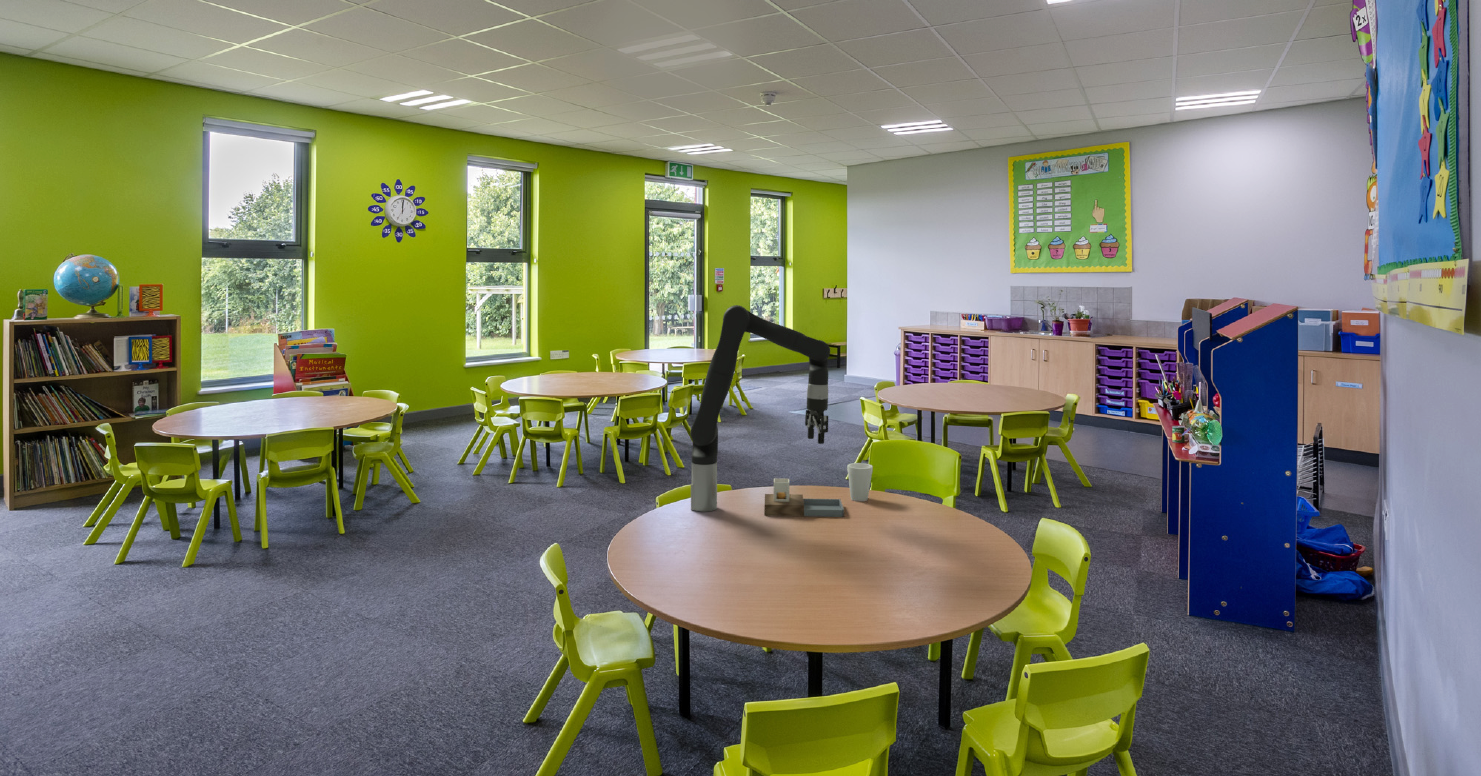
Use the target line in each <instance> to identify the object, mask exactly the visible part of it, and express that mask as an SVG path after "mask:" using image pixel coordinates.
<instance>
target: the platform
mask: <svg viewBox="0 0 1481 776" xmlns="http://www.w3.org/2000/svg"><path fill="white" fill-rule="evenodd" d="M776 499H779V498H776ZM784 499H786V498H784ZM803 499H804V495H803V494H797V493H795V494H792V493H791V494H790V493H789V502H779V501H774V493H764V515H763V516H769V517H771V516H772V517H775V516H777V517H778V516H779V517H805V516H804V500H803Z"/></svg>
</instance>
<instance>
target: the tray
mask: <svg viewBox="0 0 1481 776" xmlns="http://www.w3.org/2000/svg"><path fill="white" fill-rule="evenodd" d="M803 500H804V516H803V517H820V518H821V517H824V518H825V517H827V518H828V517H830V518H833V517H835V518H839V517H840V518H843V517H845V508H844V505H843V502H842V500H841V498H803Z"/></svg>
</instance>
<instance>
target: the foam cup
mask: <svg viewBox="0 0 1481 776" xmlns="http://www.w3.org/2000/svg"><path fill="white" fill-rule="evenodd" d="M846 467H847V471H846V472H847V475H848V485H849V494H850V495H849V496H850V499H851V501H855V502H867V501H868V499H869V493H870V487H871V482H872V481H871V480H872V474H873V467H874V466H873V465H872V464H869V463H864V462H853V463H848V464H847V466H846Z"/></svg>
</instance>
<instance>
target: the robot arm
mask: <svg viewBox="0 0 1481 776" xmlns="http://www.w3.org/2000/svg"><path fill="white" fill-rule="evenodd" d="M721 325H722V326H721V330H720V331H721V332H720V336H719V341H718V343H717V346H716V348H715V351H714V352H713V355H712V357H711V360H710V363H709V366H708V369H707V373H706V375H705V379H704V384H703V389H702V393H701V400H700V405H699V408H698V411H697V414H696V416H695V418H694V420H693V424H692V425H691V428H690V438H691V440H692V450H691V451H692V452H691V484H690V510H691V511H697V512H703V513H704V512H712V511H715V510H717V509H718V454H719V453H718V451H719V446H718V445H719V427H718V421H719V415H720V412H721V409H722V407H723V406H724V402H725V400H726V398H727V396H728V393H729V392H730V389H731V386H732V382H733V379H734V376H735V371H736V367H737V361H738V356H739V355H738V353H739V349H740V345H741V342H742V340H743V337H744V335H745V333H750V334H752V335H755V336H758V337H760V338H763V339H765V340H767V341H769V342H770V343H773V344H775V345H777V346H780V347H781V348H785V349H786V350H789V351H792V352H795V353H798V354H799V353H800V354H801V355H803V356H804V357H807V358H808V365H809V367H808V369H809V370H808V377H807V378H808V382H807V384H808V385H807V388H806V389H807V391H806V410H805V415H804V416H805V418H804V419H805V420H804V426H806V428H807V439H809V440H813V439H815V428H816V429H817V444H820V445H823V444H824V443H825V434H826V433H829V415H825V411H827V410H828V407H829V370H828V361H829V357H830V356H831V348H830V345H829V344H828V343H826V341H824V340H821V339H816V338H814V337H811V336H809V335H806V334H805V333H803V332H800V331H798V330H795V329H792V328H790V327H786V326H784V325H782V324H777V323H775V322H772V321H769V320H766V319H764V318H762V317H761V316H757V315H756V314H754V313H753V312H751V311H749V310H748V309H747V308H745V307H744V306H742V305H737V304H736V305H731V306H730V307H729V306H728V308H727V309H726V310H725V312H724V313H723V318H722V324H721Z"/></svg>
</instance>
